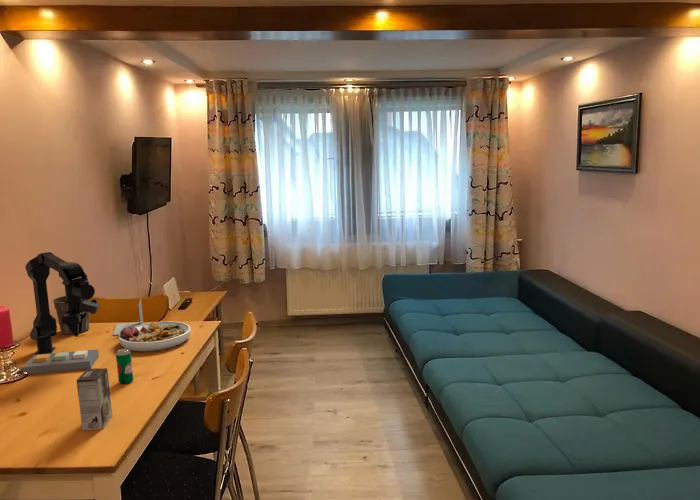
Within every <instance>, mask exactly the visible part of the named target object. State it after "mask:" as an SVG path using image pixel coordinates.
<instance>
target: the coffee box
mask: <svg viewBox="0 0 700 500" xmlns="http://www.w3.org/2000/svg"><path fill="white" fill-rule="evenodd" d="M76 388H77V389H76V390H77V395H78V396H77V397H78V405H79V413H80V414H79V415H80V422H81V423H80V424H81V429H82V430H81V431H93V430H94V431H96V430H104V428H106V425H108V424H107V423H109V421H110V419H112V417H113V408H112V399H111V389H110V382H109V373H108V368H107V367H106V368H104V367H103V368H100V367H99V368H97V367H96V368H95V367H94V368H91V369H85V371H83V373H82V374H81V375H80V376H79V377H78V378H77V379H76Z"/></svg>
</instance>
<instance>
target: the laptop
mask: <svg viewBox="0 0 700 500" xmlns="http://www.w3.org/2000/svg"><path fill="white" fill-rule="evenodd" d="M138 301H139V302H138V305H137V310H138V321H134V322H124V323H123V322H122V323H117V324H115V328H114V330H113V332H112V336H119V334H120V332H121V331H122V330H123V329H124V328H128V327H130V326H138V325H142V324H144V315H143V303H142V297H140V298H139V300H138Z"/></svg>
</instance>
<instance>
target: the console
mask: <svg viewBox="0 0 700 500" xmlns="http://www.w3.org/2000/svg"><path fill="white" fill-rule="evenodd" d="M86 350H88V356H87V357H86V358H79V359H73V354H74V353H75V352H76V351H77V350H75V351H68V352H69V357H68V359H67V360H57V361H54V356H55V355H56V353H57V352H54V353H53V352H51V353H49V354H50V359H49V360H48V361H46V362H34V358H35V357H36V356H37V355H38V354H34V355H32V357H31V358H30V359H29V360H28V361H27V362H26V363H25V364H24V365H23V366H22V373H23V372H27V373H28V375H38V374H47V373H59V372H68V371H79V370H87V369H92V367H93V366H94V364H95V363H96V361H97V359H99V357H100V354H99V349H86ZM86 350H85V349H84V350H83V351H86ZM63 352H64V351H63ZM63 352H61V353H63ZM39 355H41V354H39Z"/></svg>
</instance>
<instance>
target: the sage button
mask: <svg viewBox="0 0 700 500" xmlns="http://www.w3.org/2000/svg"><path fill="white" fill-rule="evenodd" d="M69 352H70V351H63V353H62V352H55V353H56V355H55V356H54V361H57V360H67V359H68V357H69Z"/></svg>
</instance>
